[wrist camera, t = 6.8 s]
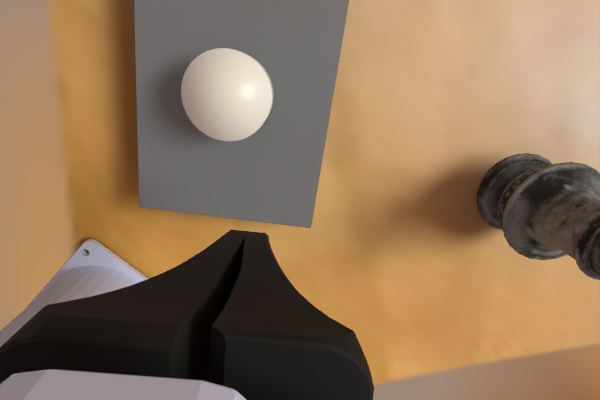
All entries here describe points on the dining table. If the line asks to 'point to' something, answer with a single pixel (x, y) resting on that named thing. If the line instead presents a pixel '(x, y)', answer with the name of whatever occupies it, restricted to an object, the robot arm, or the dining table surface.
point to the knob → (227, 94)
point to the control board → (276, 128)
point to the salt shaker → (545, 208)
